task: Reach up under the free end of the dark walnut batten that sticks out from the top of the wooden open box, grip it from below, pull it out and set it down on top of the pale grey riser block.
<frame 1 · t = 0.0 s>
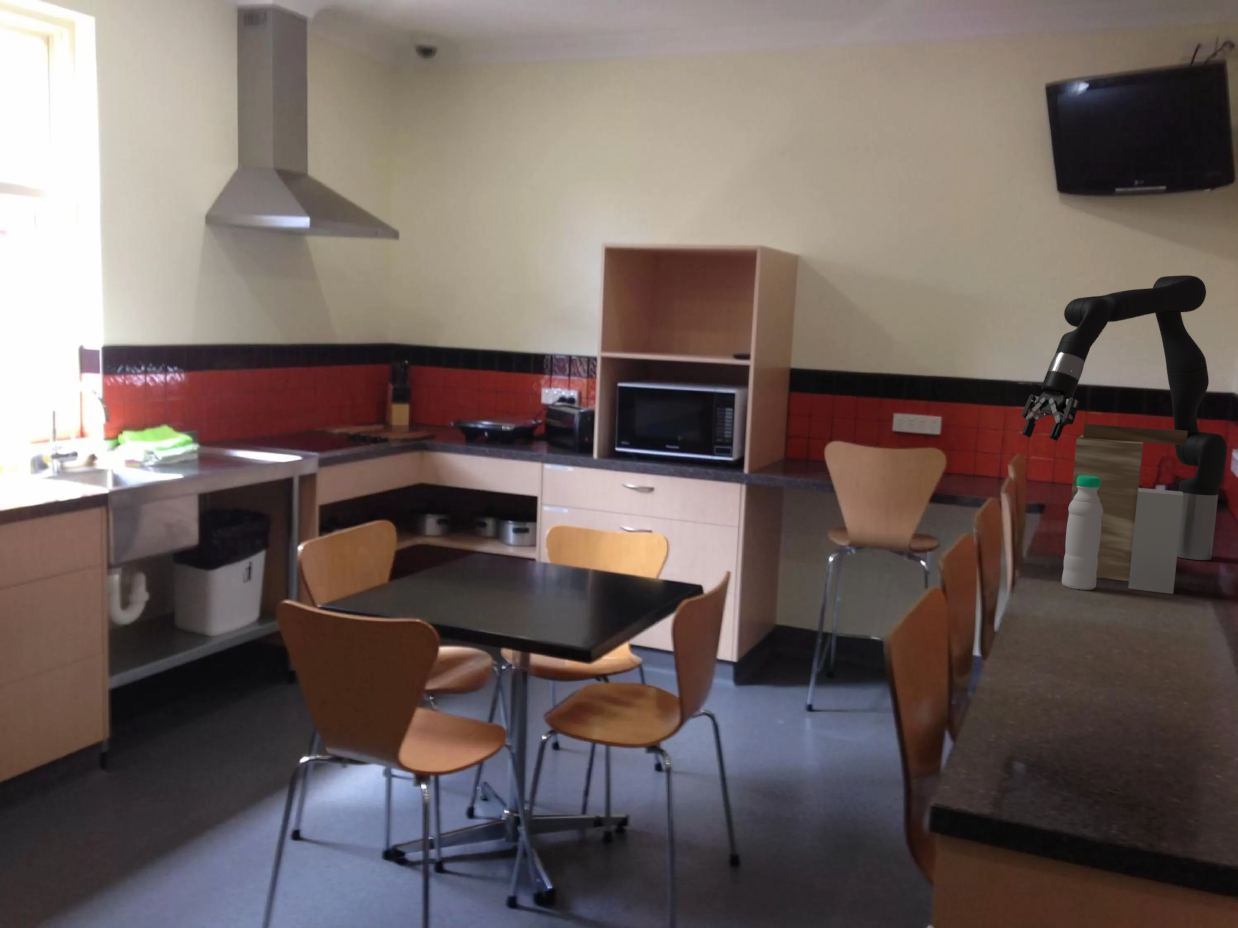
hand: (1039, 437, 260), 31 cm above the counter, tool tilted 20°, fingers open, 8 cm apart
riser block: (1150, 587, 244), on the counter
batten: (1133, 441, 256), point 32 cm above the counter, touching wooden open box
wooden open box: (1098, 570, 262), on the counter
tea box: (1097, 559, 278), on the counter
white bottle: (1078, 587, 242), on the counter
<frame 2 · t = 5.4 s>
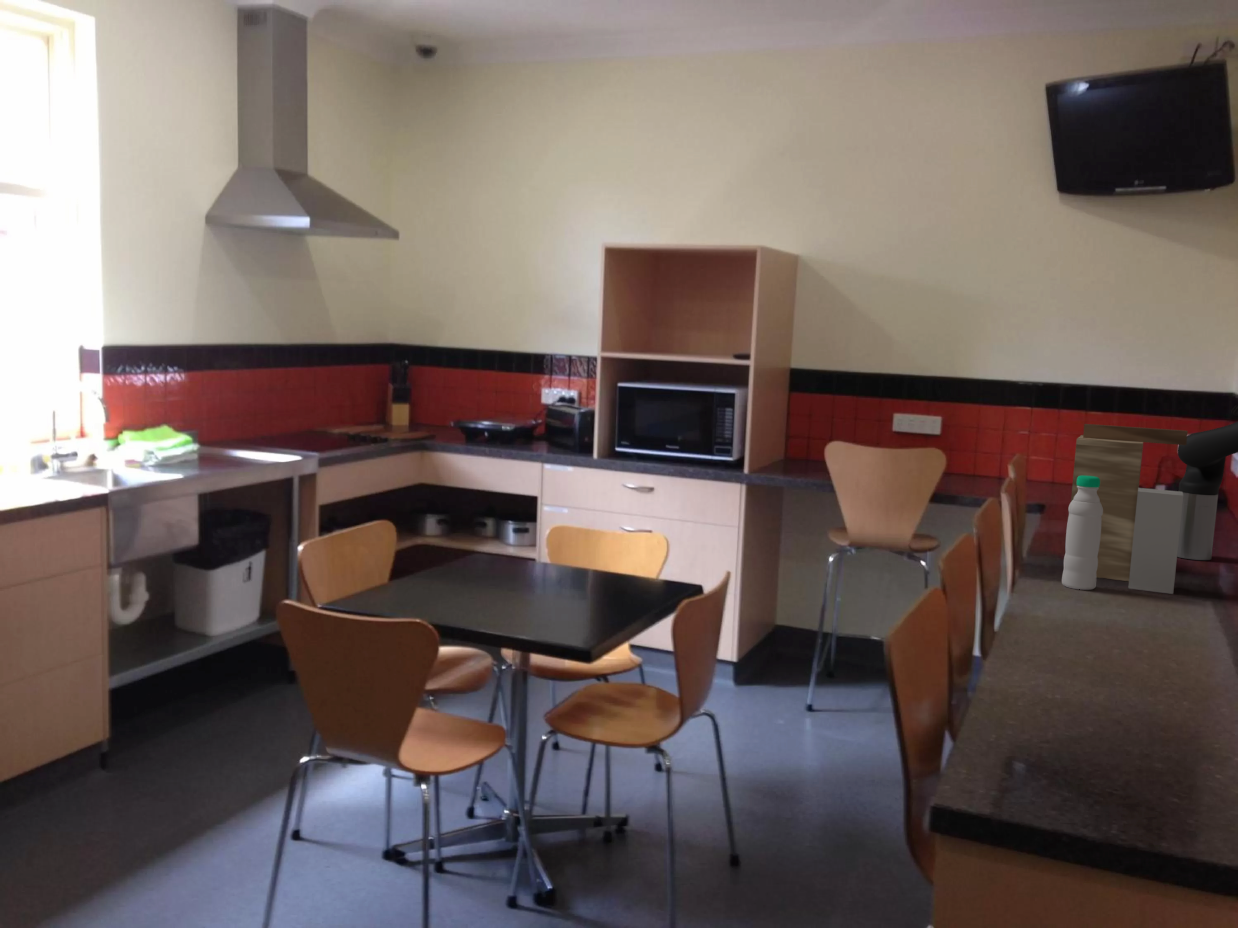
hand: (1234, 408, 246), 41 cm above the counter, tool pointing upward, fingers open, 8 cm apart
nothing on the counter moved.
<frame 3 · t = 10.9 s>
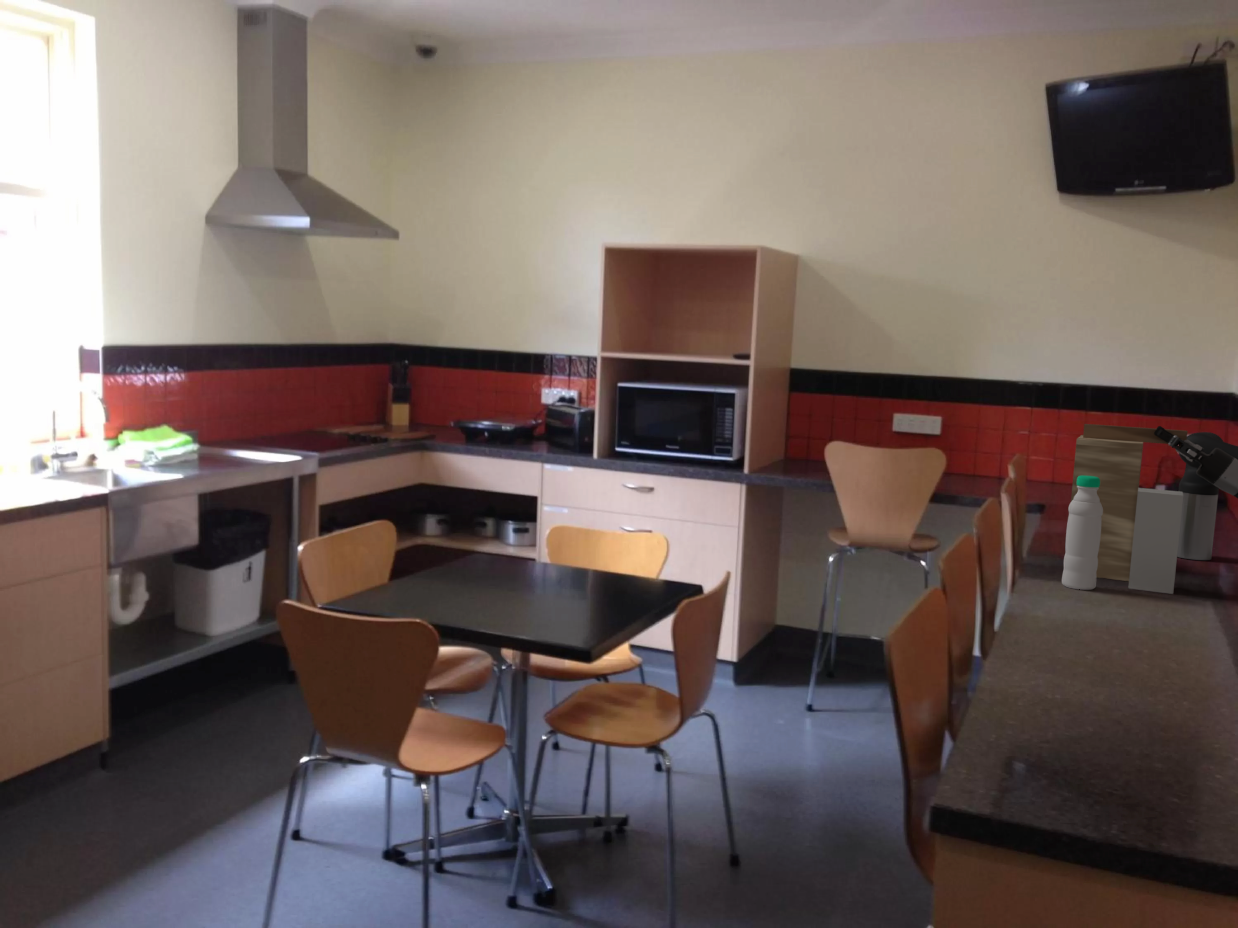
hand: (1156, 429, 254), 35 cm above the counter, tool pointing upward, fingers closed on batten, 3 cm apart
batten: (1133, 441, 256), point 32 cm above the counter, touching gripper, wooden open box
everything else where it was.
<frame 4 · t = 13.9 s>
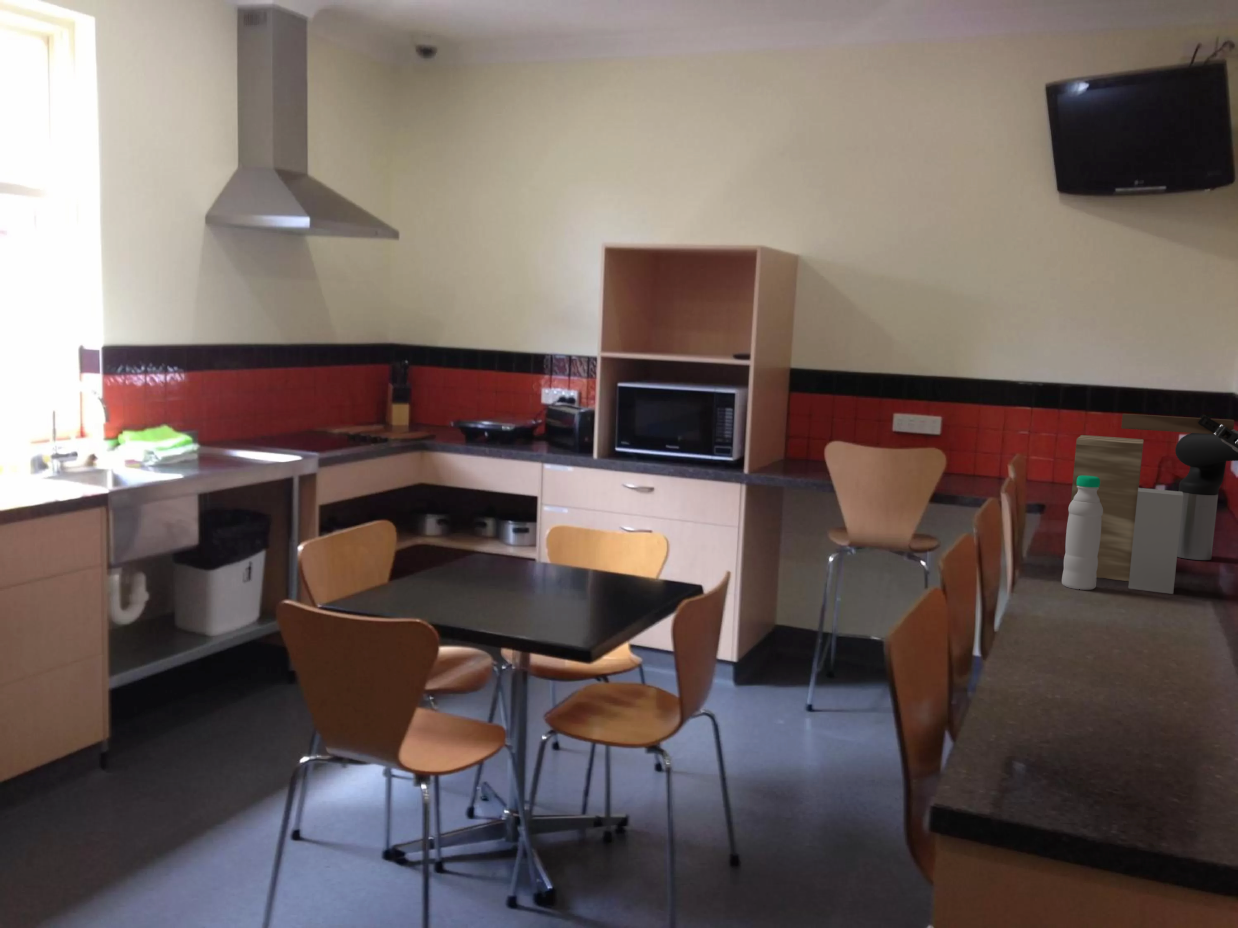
hand: (1200, 418, 238), 39 cm above the counter, tool pointing upward, fingers closed on batten, 3 cm apart
batten: (1175, 431, 240), point 36 cm above the counter, touching gripper
everything else where it was.
when the fingers open (25 cm above the counter, at t = 17.0 s): batten stays where it is, resting on riser block.
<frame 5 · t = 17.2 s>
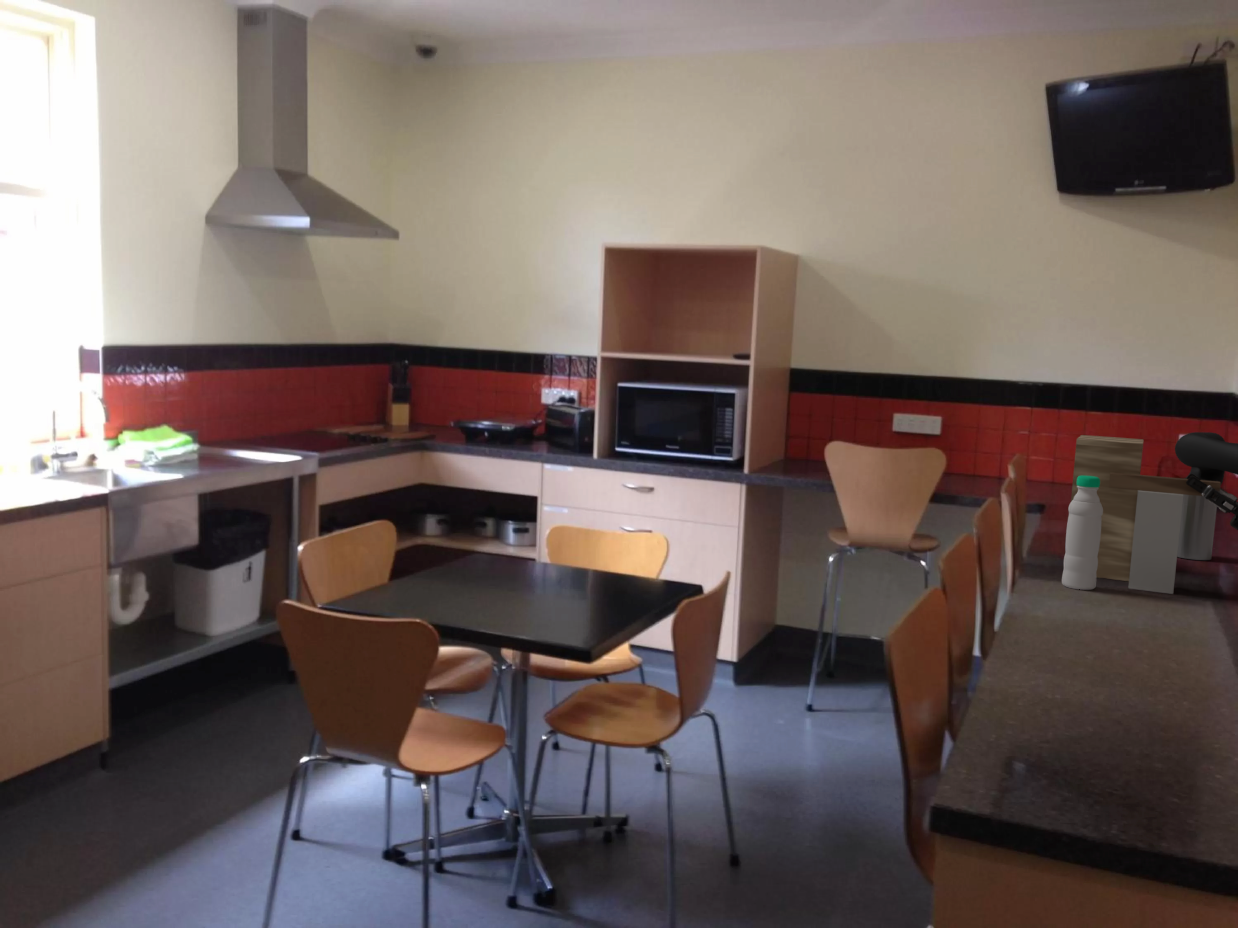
hand: (1188, 478, 239), 26 cm above the counter, tool pointing upward, fingers open, 5 cm apart
batten: (1162, 491, 241), point 22 cm above the counter, touching riser block
everything else where it was.
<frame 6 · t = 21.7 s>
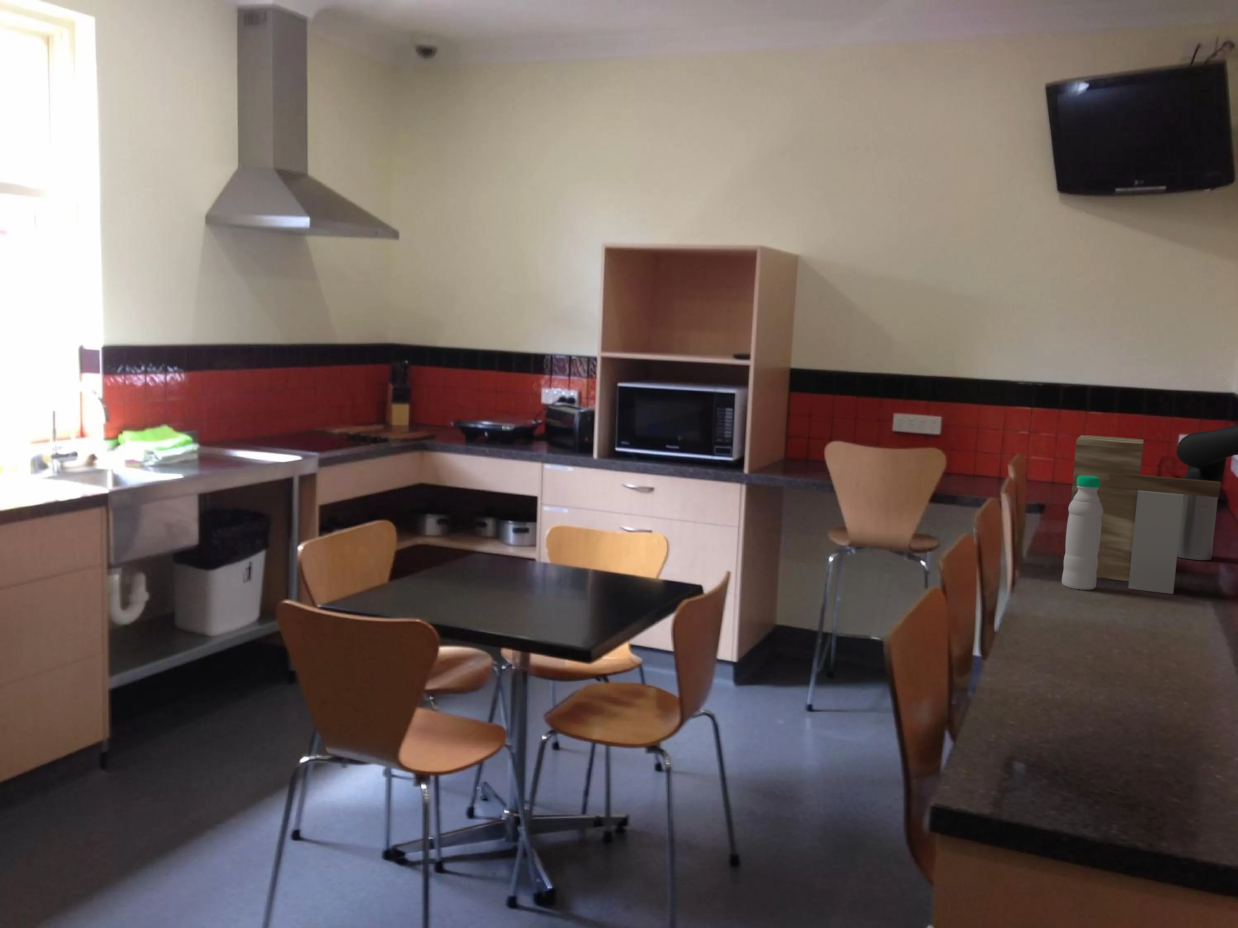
nothing on the counter moved.
at the end: batten inside the target area on the riser block (1.0 cm from its centre), point 22.0 cm above the riser block's base; the gripper is holding nothing; batten point 22.0 cm above the counter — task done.
